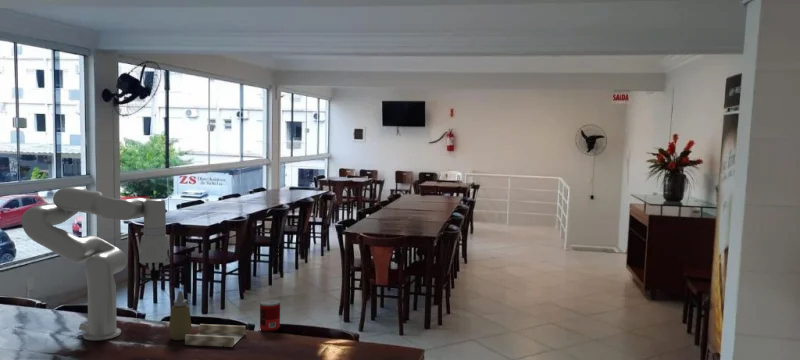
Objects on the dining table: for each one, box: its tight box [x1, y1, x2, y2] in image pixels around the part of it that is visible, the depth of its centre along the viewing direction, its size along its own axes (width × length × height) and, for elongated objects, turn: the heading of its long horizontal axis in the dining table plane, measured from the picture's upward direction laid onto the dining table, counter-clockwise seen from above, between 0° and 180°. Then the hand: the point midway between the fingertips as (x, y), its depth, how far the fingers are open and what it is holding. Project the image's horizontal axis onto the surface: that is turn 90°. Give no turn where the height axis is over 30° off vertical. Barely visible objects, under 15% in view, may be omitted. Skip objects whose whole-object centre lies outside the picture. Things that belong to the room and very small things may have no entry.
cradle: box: [184, 323, 247, 348], centre depth 206 cm, size 18×13×4 cm
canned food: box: [259, 298, 281, 333], centre depth 220 cm, size 8×8×11 cm
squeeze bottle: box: [168, 290, 192, 341], centre depth 207 cm, size 8×8×18 cm
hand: (155, 279), depth 207 cm, fingers closed
